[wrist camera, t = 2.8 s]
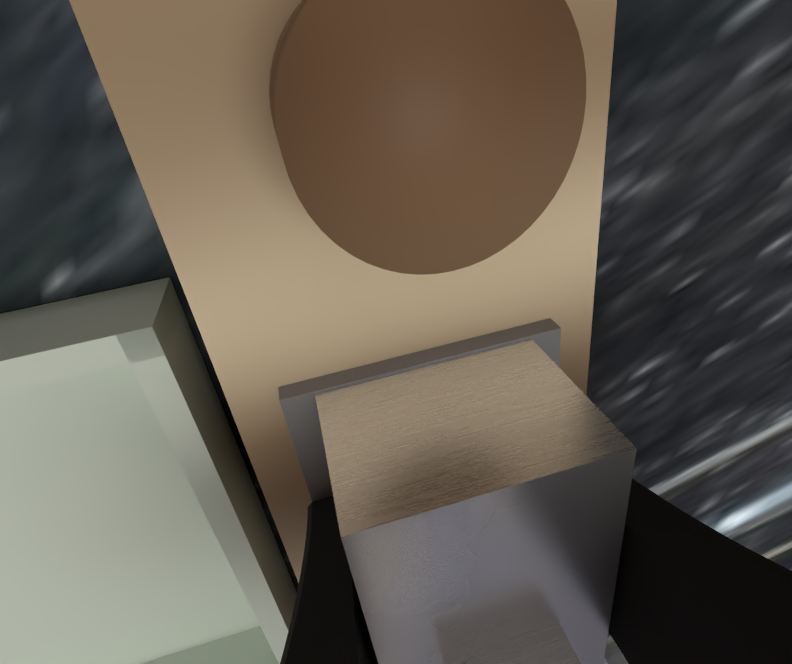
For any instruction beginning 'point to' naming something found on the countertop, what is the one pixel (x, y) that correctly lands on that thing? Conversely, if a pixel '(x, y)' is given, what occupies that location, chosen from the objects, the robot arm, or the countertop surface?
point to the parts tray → (127, 495)
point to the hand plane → (362, 191)
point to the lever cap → (479, 509)
